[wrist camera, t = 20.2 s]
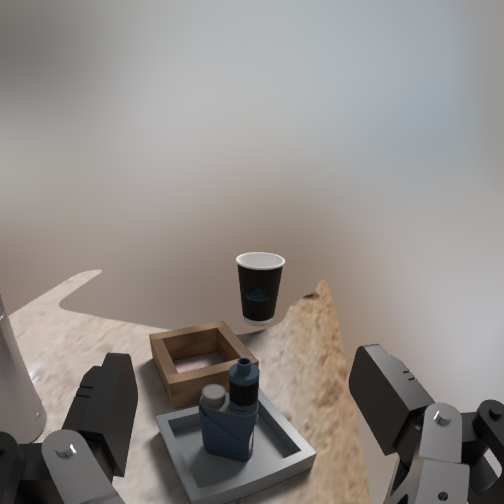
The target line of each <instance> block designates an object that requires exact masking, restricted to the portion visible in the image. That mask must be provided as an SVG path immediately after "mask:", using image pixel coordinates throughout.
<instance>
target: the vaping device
mask: <svg viewBox="0 0 504 504" xmlns="http://www.w3.org/2000/svg"><path fill="white" fill-rule="evenodd" d="M258 391H259V369H258V367H257V366H256V365H254V364H252V363H251V360H250V359H249V358H240V359H238V360H237V363H236V364H234V365H232V366H231V367H230V368H229V393H226V390H225V388H224V387H223V386H221V385H218V384H209V385H207V386H205V387H204V388H203V389H202V396H201V398H200V402H199V405H198V408H199V417H200V425H201V432H202V440H203V445H204V447H205V448H206V450H207V451H208V452H209V453H210V454H213V455H217V456H221V457H225V458H229V459H233V460H238V461H243V462H246V461H248V460H249V459H250V458H251V456H252V454H253V448H252V447H253V440H254V426H255V425H256V423H257V420H258V417H259V415H258Z"/></svg>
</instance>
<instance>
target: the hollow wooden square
mask: <svg viewBox="0 0 504 504" xmlns="http://www.w3.org/2000/svg"><path fill="white" fill-rule="evenodd" d="M149 337H150V344H151V350H152V356H153V360H154V362H155V365H156V367H157V370H158V373H159V375H160V378H161V380H162V383H163V385H164V388H165V390H166V392H167V395H168V397H169V400H170V402H171V404H172V407H173V409H175V408H179V407H183V406H187V405H191V404H195V403H199V402H200V398H201V396H202V389H203V388H204V387H205V386H207V385H209V384H218V385H221V386H223V387H224V388H225V390H226V393H229V368H230V367H231V366H232V365H234V364H236V363H237V360H238V359H240V358H249V359H250V360H251V363H252V364H254V365H256V366H257V367H258V365H259V361H258V360H257V359H256V358H255V357H254V356H253V355H252V353H251V352H250V351H249V350H248V349H247V348H246V347H245V346H244V345H243V343H242V342H241V341H240V340H239V339H238V338H237V337H236V335H235V334H234V333H233V332H232V331H231V330H230V329H229V327H228V326H227V325H226V324H225V323H224V322H223V321H218V322H213V323H209V324H204V325H199V326H193V327H189V328H183V329H178V330H172V331H167V332H161V333H156V334H150V335H149ZM217 350H218V351H219V353H220V354H221V356H222V357H223V358H224V360H225V361H226V362H224V363H221V364H217V365H212V366H208V367H204V368H200V369H196V370H191V371H187V372H182V373H178V372H177V370H176V368H175V366H174V364H173V362H172V360H176V359H181V358H186V357H191V356H195V355H200V354H204V353H209V352H213V351H217Z"/></svg>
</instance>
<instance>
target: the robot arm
mask: <svg viewBox="0 0 504 504" xmlns="http://www.w3.org/2000/svg"><path fill="white" fill-rule="evenodd" d="M349 389H350V393H351V395H352V396H353V398H354V400H355V402H356V404H357V405H358V407H359V409H360V411H361V412H362V414H363V416H364V418H365V420H366V422H367V423H368V425H369V427H370V429H371V431H372V432H373V434H374V436H375V438H376V440H377V442H378V444H379V445H380V447H381V449H382V451H383V453H384V454H385V456H386V455H389V454H392V453H396V452H397V453H398V455H399V457H398V459H397V461H396V464H395V468H394V471H393V475H392V478H391V482H390V485H389V488H388V491H387V495H386V498H385V500H384V503H383V504H467V502H468V503H469V504H504V405H503V404H502V403H500V402H498V401H496V400H485V401H483V402H482V403H481V404H480V406H479V408H478V409H477V411H476V412H469V413H459V411H458V410H457V409H456V408H454V407H453V406H451V405H448V404H445V403H435V402H434V400H433V399H432V398H431V396H430V395H429V394H428V393H427V391H426V390H425V389H424V388H423V387H422V385H421V384H420V383H419V382H418V380H417V379H415V377H414V375H413V374H412V373H411V372H409V369H408V368H407V367H406V366H405V365H404V363H403V362H402V361H400V360H399V359H397V358H396V357H394V356H392V355H388V354H387V352H386V351H385V350H384V349H383V347H382V346H381V345H380V344H372V345H365V346H360V347H358V349H357V351H356V355H355V359H354V362H353V366H352V370H351V373H350V377H349ZM137 403H138V389H137V384H136V380H135V375H134V371H133V366H132V361H131V357H130V355H129V354H122V353H107V355H106V357H105V359H104V362H103V364H102V366H93V367H92V368H91V369H90V370H89V371H88V372H87V373H86V374H85V375H84V376H83V379H82V381H81V383H80V388H78V390H77V392H76V396H75V397H74V400H73V402H72V404H71V407H70V409H69V412H68V414H67V417H66V419H65V422H64V424H63V427H62V429H61V430H57V431H55V432H52V433H51V434H49V435H48V436H47V437H46V438H45V439H44V441H43V443H31V442H32V441H34V440H35V439H36V438H37V437H38V436H39V435H40V434H41V432H42V431H43V429H44V427H45V424H46V412H45V409H44V407H43V405H42V403H41V400H40V398H39V396H38V394H37V392H36V390H35V388H34V385H33V383H32V381H31V378H30V376H29V374H28V371H27V369H26V366H25V364H24V361H23V359H22V356H21V353H20V351H19V348H18V345H17V342H16V339H15V337H14V334H13V330H12V327H11V324H10V321H9V318H8V315H7V311H6V308H5V304H4V301H3V297H2V293H1V288H0V504H125V502H124V501H123V500H122V498H121V497H120V496H119V494H118V493H117V492H116V490H115V489H114V487H113V486H112V481H113V476H118V477H124V474H125V468H126V462H127V456H128V450H129V444H130V439H131V433H132V428H133V423H134V418H135V413H136V408H137ZM29 443H31V444H29ZM489 448H490V450H491V451H492V453H493V454H494V455H495V457H496V458H497V460H498V461H499V463H500V464H501V467H502V473H501V476H500V477H499V478H498V477H497V475H496V474H495V472H494V470H493V469H492V467H491V466H490V465H489V463H488V461H487V460H486V458H485V457H484V454H485V453H486V451H487V450H488V449H489Z"/></svg>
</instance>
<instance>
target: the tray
mask: <svg viewBox="0 0 504 504" xmlns="http://www.w3.org/2000/svg"><path fill="white" fill-rule="evenodd" d="M258 415H259V417H258V420H257V423H256V425H255V426H254V440H253V447H252V448H253V454H252V456H251V458H250V459H249V460H248V461H246V462H243V461H238V460H233V459H229V458H225V457H221V456H217V455H213V454H210V453H209V452H208V451H207V450H206V448H205V447H204V445H203V440H202V432H201V425H200V417H199V408H198V406H196V407H192V408H188V409H184V410H180V411H175V412H171V413H166V414H162V415H157V416H156V419H157V423H158V427H159V430H160V433H161V436H162V438H163V441H164V444H165V446H166V449H167V451H168V453H169V456H170V458H171V461H172V463H173V465H174V468H175V470H176V472H177V474H178V477H179V479H180V481H181V483H182V485H183V488H184V490H185V492H186V494H187V496H188V498H189V500H190V502H191V504H225V503H228V502H231V501H233V500H236V499H239V498H242V497H245V496H247V495H250V494H253V493H255V492H258V491H260V490H263V489H265V488H268V487H270V486H272V485H275V484H277V483H279V482H282V481H284V480H286V479H288V478H290V477H293V476H295V475H297V474H299V473H301V472H303V471H305V470H307V469H309V468H311V467H312V466H313V463H314V460H315V457H316V452H315V451H314V450H313V448H312V447H311V446H310V445H309V444H308V443H307V442H306V441H305V440H304V439H303V438H302V437H301V435H300V434H299V433H298V432H297V431H296V430H295V429H294V428H293V427H292V425H291V424H290V423H289V422H288V421H287V420H286V419H285V418H284V416H283V415H282V414H281V413H280V412H279V411H278V410H277V408H276V407H275V406H274V405H273V404H272V403H271V401H270V400H269V399H268V398H267V397H266V396H265V394H264V393H263V392H262V391H261V390H260V388H259V391H258Z"/></svg>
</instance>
